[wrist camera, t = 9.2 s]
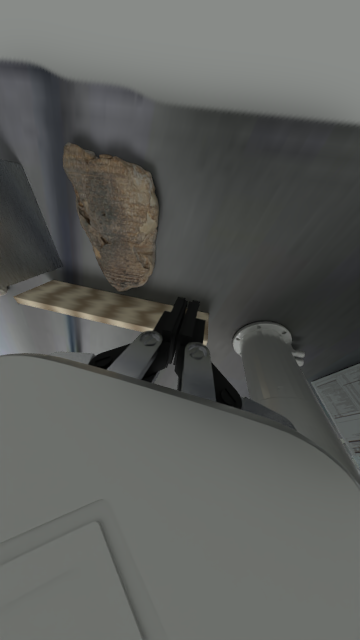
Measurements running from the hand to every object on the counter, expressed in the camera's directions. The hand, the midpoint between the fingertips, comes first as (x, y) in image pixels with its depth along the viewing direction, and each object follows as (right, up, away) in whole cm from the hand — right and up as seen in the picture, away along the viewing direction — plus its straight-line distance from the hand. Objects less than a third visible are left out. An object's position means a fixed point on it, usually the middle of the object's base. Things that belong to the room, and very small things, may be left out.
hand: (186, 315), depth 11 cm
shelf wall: (-13, +5, +23) cm, 27 cm away
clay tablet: (-11, +15, +15) cm, 24 cm away
